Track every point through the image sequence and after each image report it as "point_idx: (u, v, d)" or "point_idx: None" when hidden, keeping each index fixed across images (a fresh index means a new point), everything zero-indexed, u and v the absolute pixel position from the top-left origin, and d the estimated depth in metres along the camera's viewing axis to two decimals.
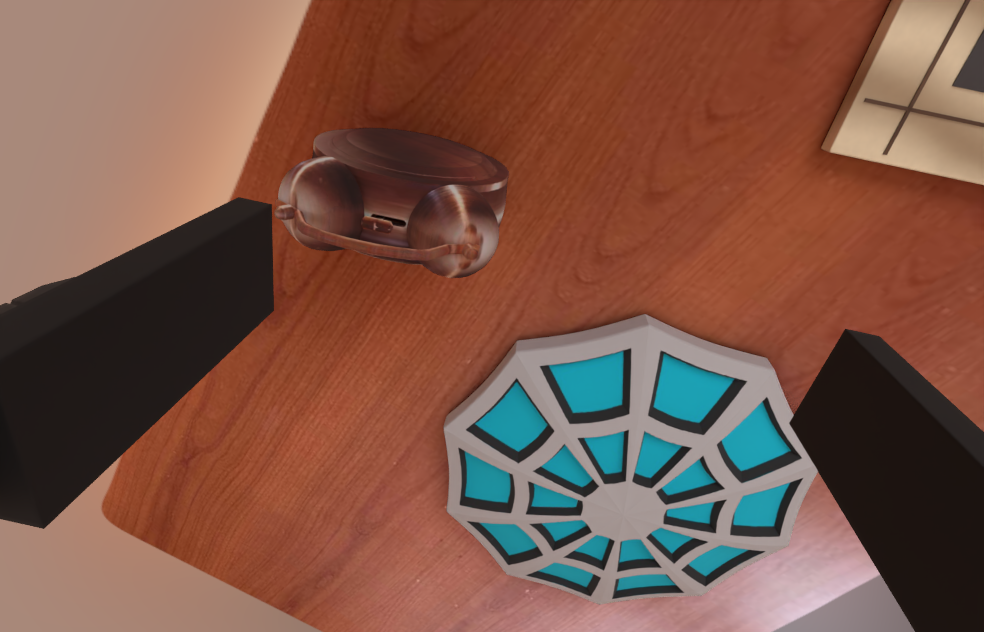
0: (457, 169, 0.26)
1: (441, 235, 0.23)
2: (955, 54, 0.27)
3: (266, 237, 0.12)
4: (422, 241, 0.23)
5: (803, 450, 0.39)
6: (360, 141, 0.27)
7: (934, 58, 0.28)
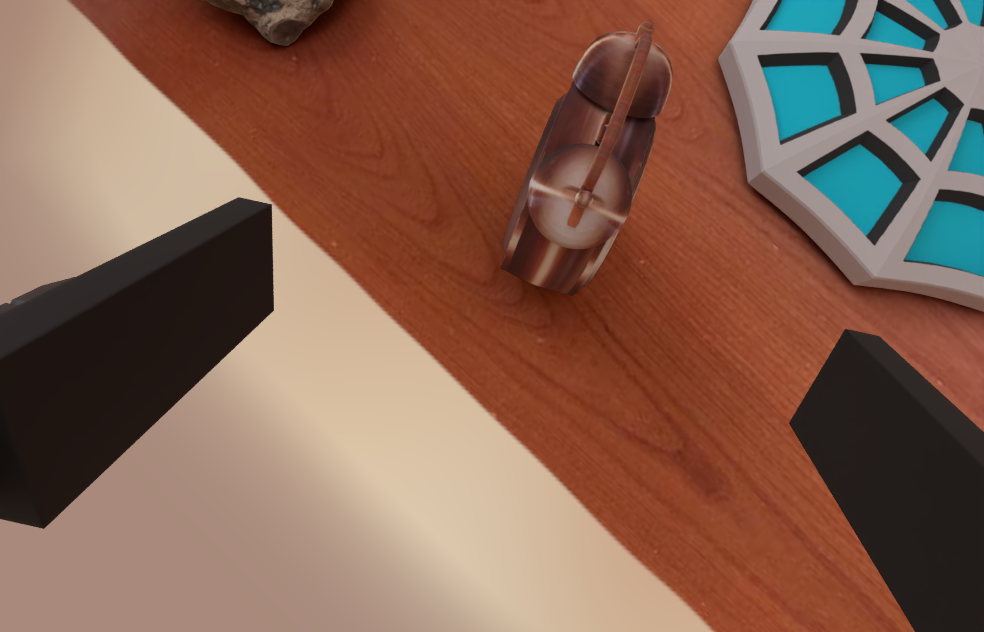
0: (557, 100, 0.26)
1: (624, 52, 0.22)
2: None
3: (265, 237, 0.12)
4: None
5: None
6: None
7: None
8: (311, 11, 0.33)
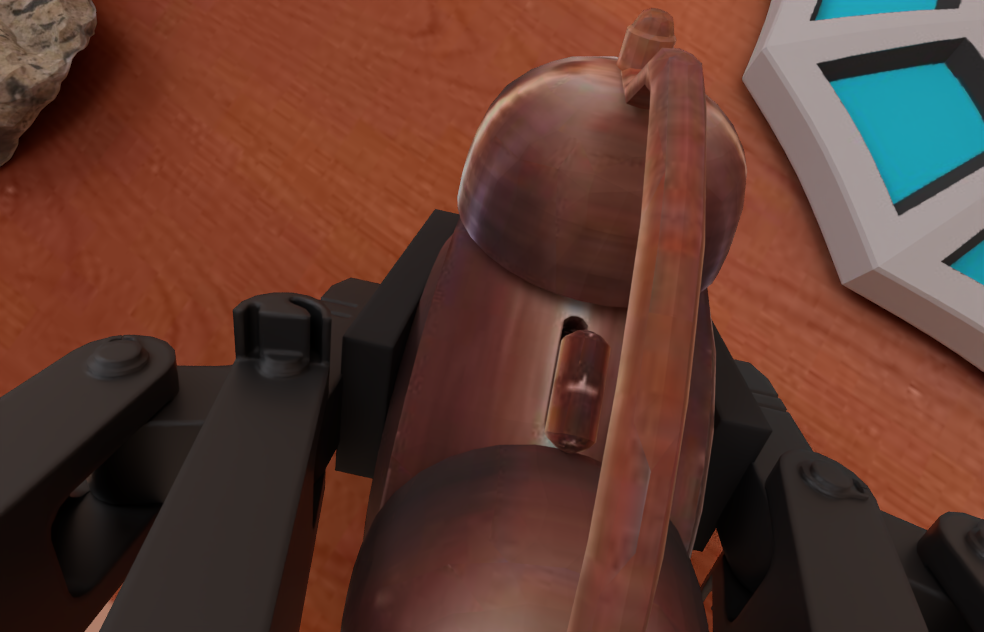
0: (444, 244, 0.10)
1: (594, 123, 0.06)
2: None
3: None
4: (625, 198, 0.06)
5: None
6: None
7: None
8: (15, 106, 0.18)
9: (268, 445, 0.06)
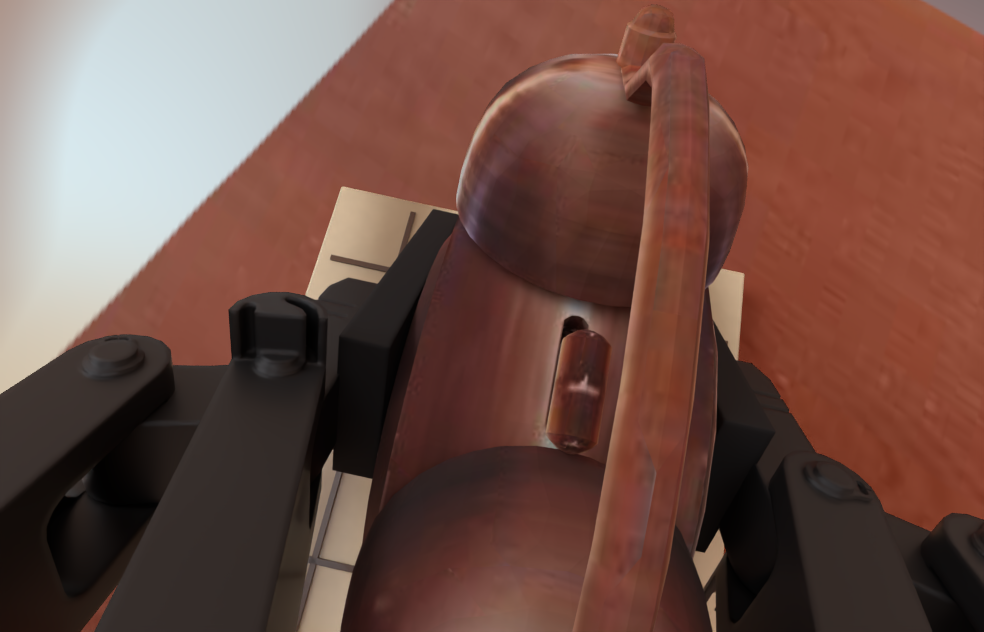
0: (443, 244, 0.10)
1: (594, 121, 0.06)
2: None
3: None
4: (626, 196, 0.06)
5: None
6: None
7: None
8: None
9: (264, 444, 0.06)
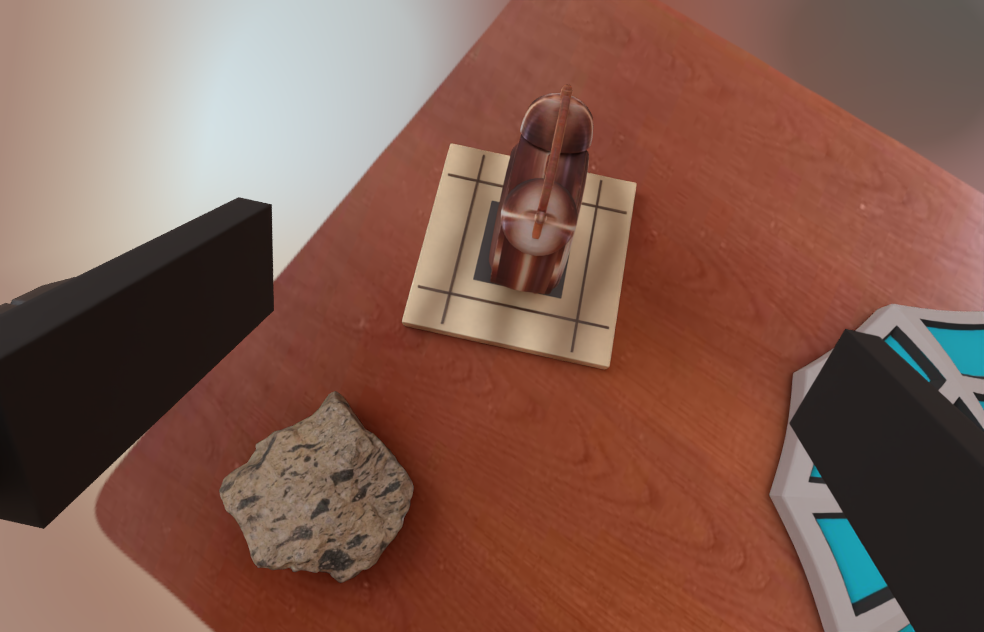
0: (513, 148, 0.34)
1: (554, 109, 0.30)
2: (541, 303, 0.40)
3: (266, 237, 0.12)
4: None
5: (887, 325, 0.40)
6: None
7: (544, 315, 0.40)
8: (380, 553, 0.34)
9: None
